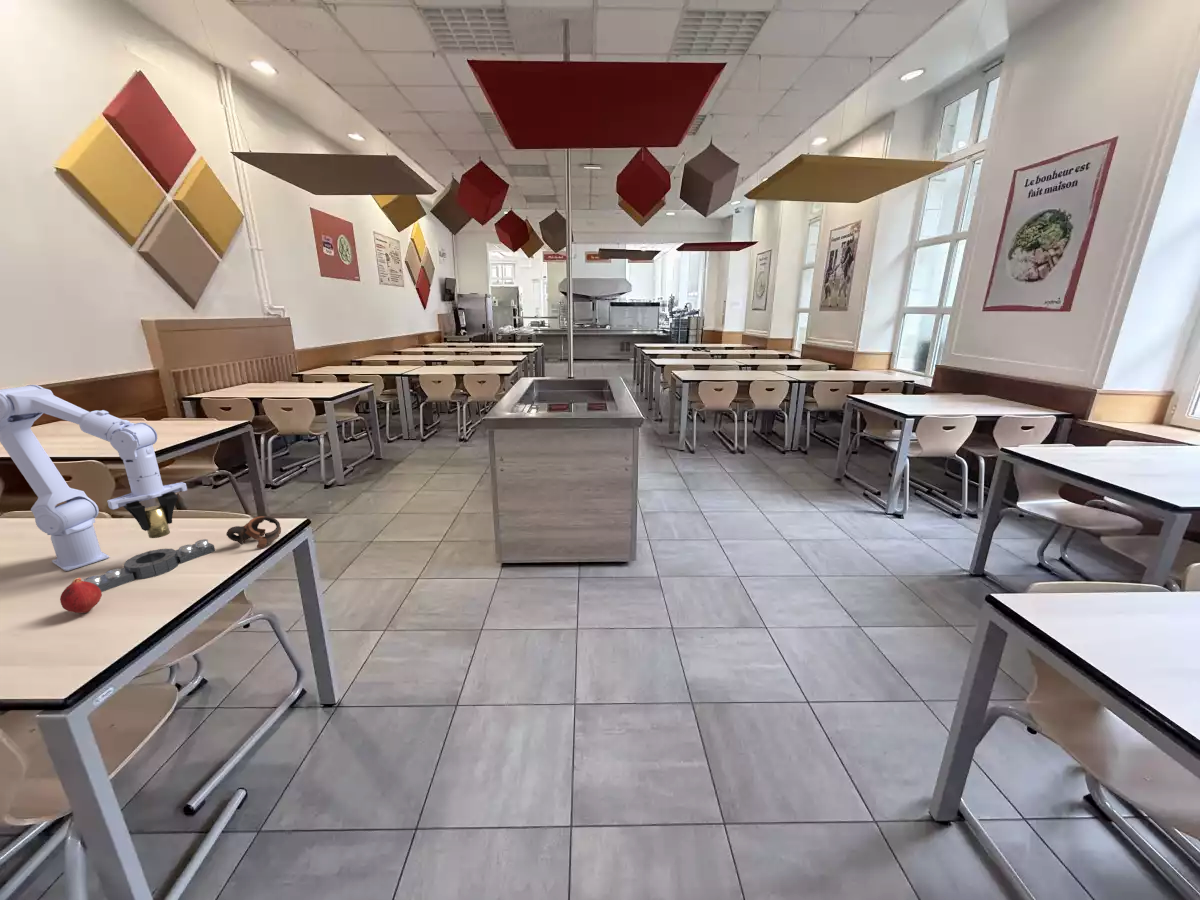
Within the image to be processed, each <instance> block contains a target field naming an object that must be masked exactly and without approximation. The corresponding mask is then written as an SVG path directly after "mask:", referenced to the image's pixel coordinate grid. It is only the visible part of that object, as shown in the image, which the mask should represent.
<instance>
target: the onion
mask: <svg viewBox="0 0 1200 900" xmlns="http://www.w3.org/2000/svg"><path fill="white" fill-rule="evenodd" d="M102 594H103V593H102V592H101V590H100V588H99V587H98V586H96V585H95V584H93V583H91V582H86V581H84V580H82V578H81V577H76V578H74V580H73V581H72V582H71V583H70V584H69V585H68V586H66V587H65V588H64V590H63V591H62V592H61V595H60V598H59V600H60V604H61V605H60V606H62V608H63V609H64V610H65V611H68V612H71V613H77V614H88V613H89V612H90V611H92V610H93V608H94V607H95V606H97V604H98V603H99V602H100V601H101V598H102Z"/></svg>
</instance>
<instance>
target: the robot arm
mask: <svg viewBox="0 0 1200 900" xmlns="http://www.w3.org/2000/svg"><path fill="white" fill-rule="evenodd" d="M43 414H45V415H48V416H51V417H55V418H58V419H60V420H63V421H66V422H67V421H68V422H70V423H73V424H76V425H78V426H79V428H80V430H81V431H82V432H83V433H85V434H88V435H91V436H92V437H93V436H94V437H96V438H99V439H101V440H103V441H105V442H109V443H110V445H111V446H112V448H113V449H114V450H115V451H116V452H117V453H118V455H119V458H120V459H121V460H122V462H123V465H124V467H125V468H124V470H125V472H126V476H127V480H128V484H129V486H130V493H127V494H123V495H121V496H118V497H115V498H111V499H108V500H107V501H106V502H107V505H108V508H109V509H110V510H117V509H119V508H121V507H123V509H125V510H126V511H127V512H129V514H130V515H132V517H133V518H134V519H135V520H136V522H137V523H138V525H139V526H140V528H141V530H143V531H145V532H147V530H149V526H148V523H147V520H146V515H145V508H146V506H145V505H143V504H142V503H141V502H143V501H147V500H152V499H155V498H157V500H158V503H159V506H164V510H165V514H166V518H167V522H168V525H170V524H173V514H174V510H175V506H176V504H177V501H178V499H179V498H178V494H177V493H179V492H187V491H188V486H187V483H185V482H183V481H181V482H180V481H179V482H177V483H171V484H163V481H162V475H161V474H160V473H161V472H160V468H159V465H158V461H157V456H156V453H155V448H154V445H155V444H156V442H157V441H158V433H157V431H156V430H155V428H153V426H152V425H149V424H147V422H137V423H134V422H131V421H129V420H128V419H122V418H119V417H116V416H114V415H112V414H110V412H109V411H107V410H105V409H102V410H92V411H89V410H86V409H84V408H82V407H80V406H77V405H76V404H73V403H71V402H69V401H66V400H64V399H63V398H60V397H58V396H56V395H54V393H53V391H52V390H51V389H48V388H44V387H42V386H40V385H37V384H28V385H25V386H23V385H22V386H18V387H8V388H3V389H0V444H1V445H2V447H3V449H4V450H5V451H6V453H7V454H8V455H9V457H10V458H11V460H12V461H13V463H14V464H15V466H16V467H17V469H18V470H19V472H20V473H21V475H22V476H23V477H24V479H25V480H26V482H27V483H28V485H29V487H30V488H31V489H32V491H33V492H34V494H35V495H36V496H37V500H36V501H35V502H34V504H33V505H32V507H31V508H30V511H31V512H32V514H33V516H34V521H35V525H36V527H37V528H38V529H39V530H40V531H41V532H43V533H44V534H46V535H47V536H50V540H51V541H50V542H51V544H52V547H53V549H54V553H55V557H56V558H55V559H52V560H51V562H52V563H53V564H54V565H55V566H57V567H59V568H60V569H62V570H63V571H65V572H68V571H72V570H76V569H78V568H81V567H85V566H88V565H90V564H93V563H97V562H100V561H104V560H107V559H109V558H110V555H108V554H106V553H104V552H103V551H102V550H101V546H100V543H99V539H98V536H97V534H96V530H95V526H94V524H95V523H96V518H97V517H98V515H99V510H100V509H99V506H98V505H97V504H96V502H95V501H94V500H92V499H91V498H90V497H88V495H87V494H86V493H85V491H84V490H81V489H76V488H73V487H70V486H69V485H68V483H67V482H66V480H65V478H64V477H63V475H62V474H61V473H60V471H59V469H58V468H57V467H56V465H55V464H54V462H53V461H52V459H51V458H50V456H49V454H48V453H47V452H46V450H45V449H44V447H43V446H42V444H41V442H40V440H39V439H38V438H37V436H36V435H35V433H34V432H33V430H32V426H33V425H34V422H36V421H37V420H38V419H39V418H41V416H42V415H43Z"/></svg>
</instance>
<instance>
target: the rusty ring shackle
mask: <svg viewBox="0 0 1200 900" xmlns="http://www.w3.org/2000/svg"><path fill="white" fill-rule="evenodd" d="M264 521H267V522H269V523H271V524H274V525H275V529H274V530H272V531H270V532H266V529H265V528H259V525H260V524H262V523H263V522H264ZM281 533H282V527H281V523H280V521H278V520H277V519H276V518H274V517H273V516H267V515H266V516H265V515H263V516H262V515H261V516H256V517H253V518H251V519H250V520H249V521H248V522H246V524H244V525H241V526H239V525H236V526H232V527H230V528H229V529H227V532H226V536H227V538H228V539H229V540H231V541H233V542H237V543H239V544H240V545H243V544H244V543H246V542H247V541H248V540H249V539H251V538H252V539H254V540H256V541H257V545H256V547H257V549H265V548H266V546H267V545H269V544H271V543H273V542H274V541H276V539H278V538H279V537H280V534H281ZM236 534H237V535H236Z"/></svg>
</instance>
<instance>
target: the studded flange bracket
mask: <svg viewBox="0 0 1200 900" xmlns="http://www.w3.org/2000/svg"><path fill="white" fill-rule="evenodd" d="M214 552H216V548H215V544H213V543H210V542H209V539H206V538H204V539H203V538H202V539H200V540H197V541H195V543H193V544H184V545H181V546H179V548H178V549H173V548H158V549H153V550H149V551H145V552H141V553H139V554H136V555H134V556H132V557H130V558H128V559H127V560H125V562H124V563H123V568H113V569H110V570H108V571H106V572H104V574H101V575H98V574H97V575H92V576H89V577H87V578H84V580H83V581H86V582H91V583H93V584H95V585H96V586H98V587H99V588H100V590H101V593H102V592H103V593H104V592H105V591H108V590H111V589H114V588H116V587H119V586H123V585H125V584H127V583H130V582H132V581H133V582H134V581H135V580H144V579H148V578H149V579H150V578H153V577H157V576H161V575H163V574H166V573H169V572H170V571H173V570H174V569H175V568H177V567H178V566H179V564H183V563H186V562H189V561H192V560H194V559H197V558H200V557H202V556H205V555H208V554H211V553H214Z"/></svg>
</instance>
